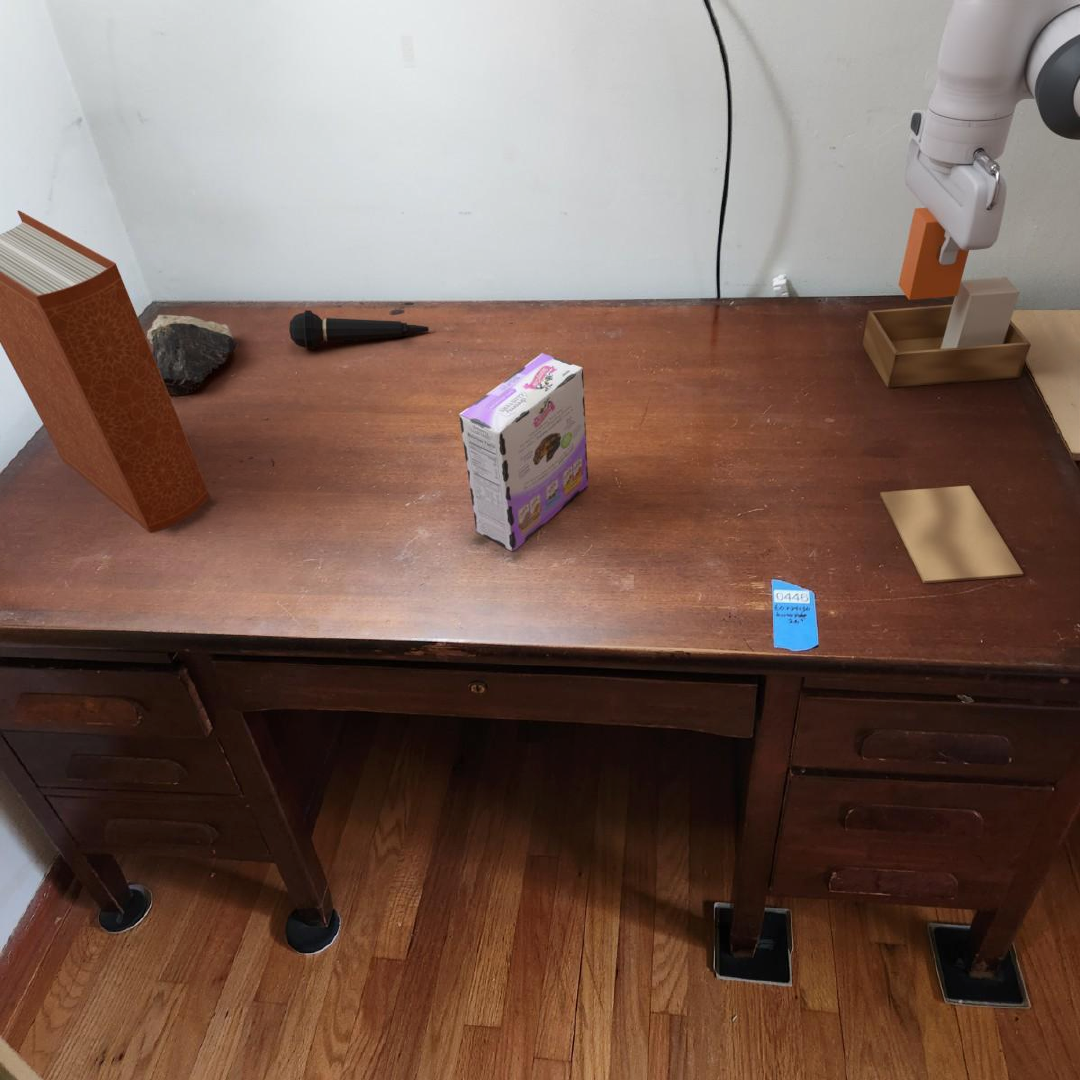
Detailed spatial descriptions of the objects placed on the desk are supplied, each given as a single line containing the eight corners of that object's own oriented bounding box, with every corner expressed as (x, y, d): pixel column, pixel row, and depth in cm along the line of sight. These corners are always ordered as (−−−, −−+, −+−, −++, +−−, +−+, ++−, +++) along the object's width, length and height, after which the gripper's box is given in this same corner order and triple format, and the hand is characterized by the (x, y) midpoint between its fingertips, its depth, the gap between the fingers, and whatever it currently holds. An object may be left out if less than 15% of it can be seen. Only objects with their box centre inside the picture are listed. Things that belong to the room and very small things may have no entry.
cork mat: (968, 488, 102) (969, 485, 102) (1022, 576, 92) (1023, 573, 92) (879, 494, 102) (880, 492, 102) (923, 583, 92) (924, 580, 92)
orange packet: (945, 281, 116) (964, 203, 109) (957, 296, 113) (977, 217, 106) (898, 285, 116) (914, 208, 109) (908, 300, 113) (926, 222, 106)
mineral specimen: (219, 297, 134) (239, 335, 123) (233, 342, 139) (253, 384, 128) (129, 317, 130) (141, 359, 119) (146, 364, 135) (160, 408, 124)
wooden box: (985, 334, 125) (995, 301, 122) (1019, 378, 117) (1031, 343, 114) (861, 343, 125) (868, 310, 122) (887, 388, 117) (895, 354, 114)
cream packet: (985, 345, 122) (1006, 276, 116) (997, 361, 120) (1020, 291, 113) (940, 349, 123) (959, 280, 116) (951, 365, 120) (971, 295, 113)
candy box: (550, 469, 109) (542, 349, 98) (590, 487, 107) (586, 366, 95) (474, 532, 102) (455, 411, 91) (513, 553, 99) (500, 431, 88)
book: (63, 460, 117) (-56, 237, 96) (121, 430, 121) (18, 210, 101) (154, 536, 105) (41, 300, 84) (215, 500, 109) (121, 266, 89)
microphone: (428, 344, 138) (292, 346, 135) (427, 305, 136) (289, 307, 133) (429, 352, 133) (289, 354, 130) (428, 312, 131) (285, 313, 128)
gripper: (1034, 167, 94) (997, 290, 103) (958, 102, 109) (932, 214, 118) (972, 172, 94) (942, 295, 103) (905, 107, 109) (884, 219, 118)
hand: (936, 251), depth 111 cm, fingers closed on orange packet, 4 cm apart
